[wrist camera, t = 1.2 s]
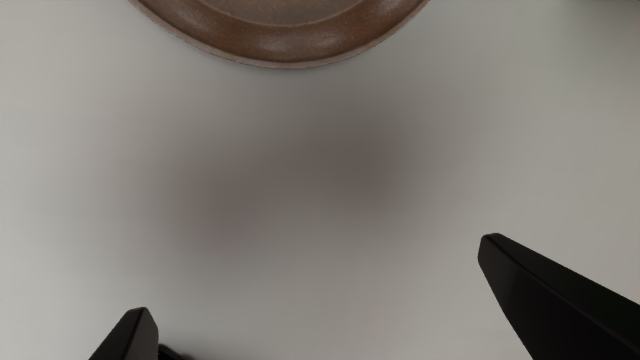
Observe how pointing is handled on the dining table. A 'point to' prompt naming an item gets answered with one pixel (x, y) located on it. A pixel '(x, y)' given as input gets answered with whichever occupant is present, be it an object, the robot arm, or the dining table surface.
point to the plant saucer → (282, 27)
